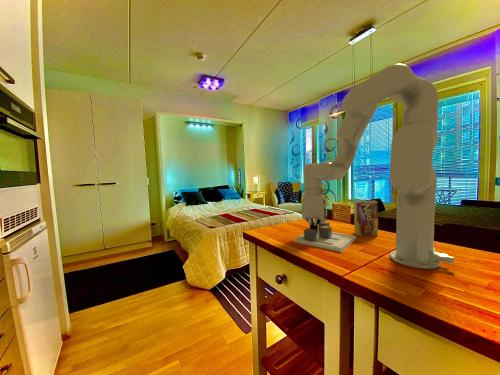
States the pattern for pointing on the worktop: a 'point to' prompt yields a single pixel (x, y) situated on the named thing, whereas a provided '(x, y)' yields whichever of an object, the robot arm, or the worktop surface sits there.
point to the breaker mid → (325, 232)
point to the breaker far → (323, 224)
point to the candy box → (366, 217)
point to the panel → (329, 241)
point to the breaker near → (310, 234)
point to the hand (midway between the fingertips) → (313, 233)
